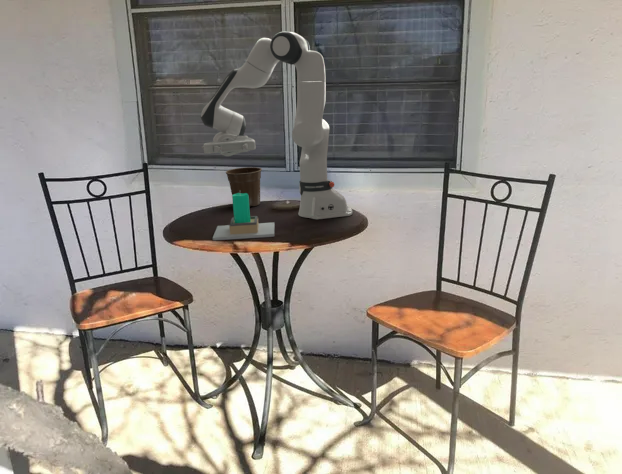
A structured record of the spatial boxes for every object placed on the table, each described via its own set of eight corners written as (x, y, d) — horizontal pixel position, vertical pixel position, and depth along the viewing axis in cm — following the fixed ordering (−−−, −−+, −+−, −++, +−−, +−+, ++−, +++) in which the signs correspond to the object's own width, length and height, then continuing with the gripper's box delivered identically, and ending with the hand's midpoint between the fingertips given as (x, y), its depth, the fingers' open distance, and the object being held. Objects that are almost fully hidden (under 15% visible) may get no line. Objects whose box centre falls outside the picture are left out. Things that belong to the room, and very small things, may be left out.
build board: (274, 224, 197) (273, 212, 196) (274, 236, 182) (273, 223, 181) (217, 228, 196) (216, 216, 195) (212, 240, 181) (211, 227, 180)
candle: (247, 224, 185) (244, 192, 181) (232, 224, 186) (229, 192, 182) (252, 220, 190) (250, 188, 187) (237, 219, 191) (234, 188, 188)
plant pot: (224, 209, 227) (220, 173, 222) (234, 200, 242) (231, 167, 237) (259, 209, 224) (256, 173, 219) (267, 200, 239) (265, 166, 235)
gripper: (200, 139, 200) (203, 142, 188) (250, 135, 206) (257, 138, 193) (201, 154, 202) (205, 159, 190) (252, 150, 208) (259, 154, 195)
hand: (232, 148), depth 192 cm, fingers open, 8 cm apart
